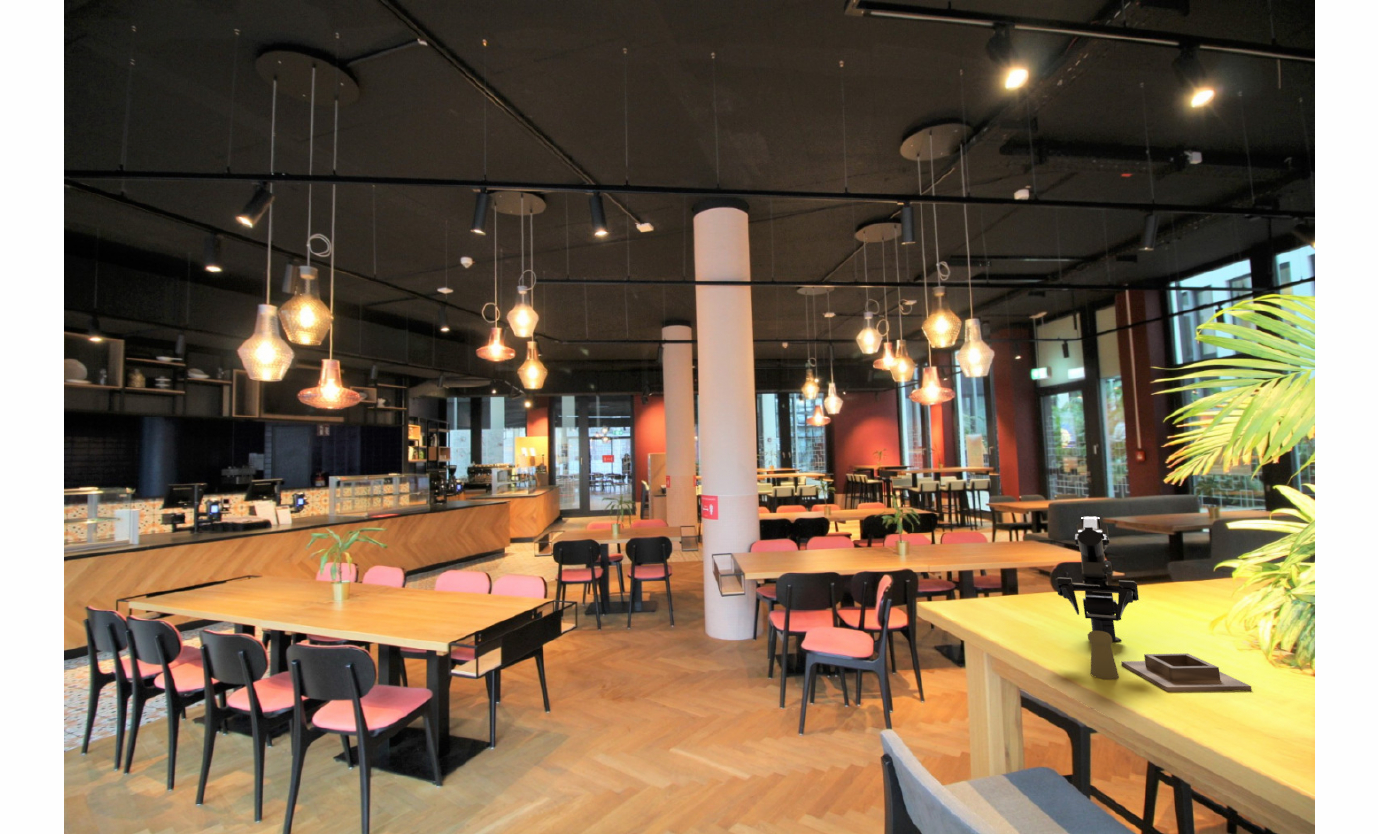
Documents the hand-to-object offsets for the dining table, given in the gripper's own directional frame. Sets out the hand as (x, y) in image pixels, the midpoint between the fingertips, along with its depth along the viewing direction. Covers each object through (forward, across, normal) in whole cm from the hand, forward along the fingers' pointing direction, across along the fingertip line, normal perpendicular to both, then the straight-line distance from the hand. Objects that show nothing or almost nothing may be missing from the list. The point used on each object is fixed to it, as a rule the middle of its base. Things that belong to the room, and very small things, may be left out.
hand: (1098, 615), depth 156 cm
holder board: (+10, +16, +8) cm, 21 cm away
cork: (+15, 0, +4) cm, 16 cm away
